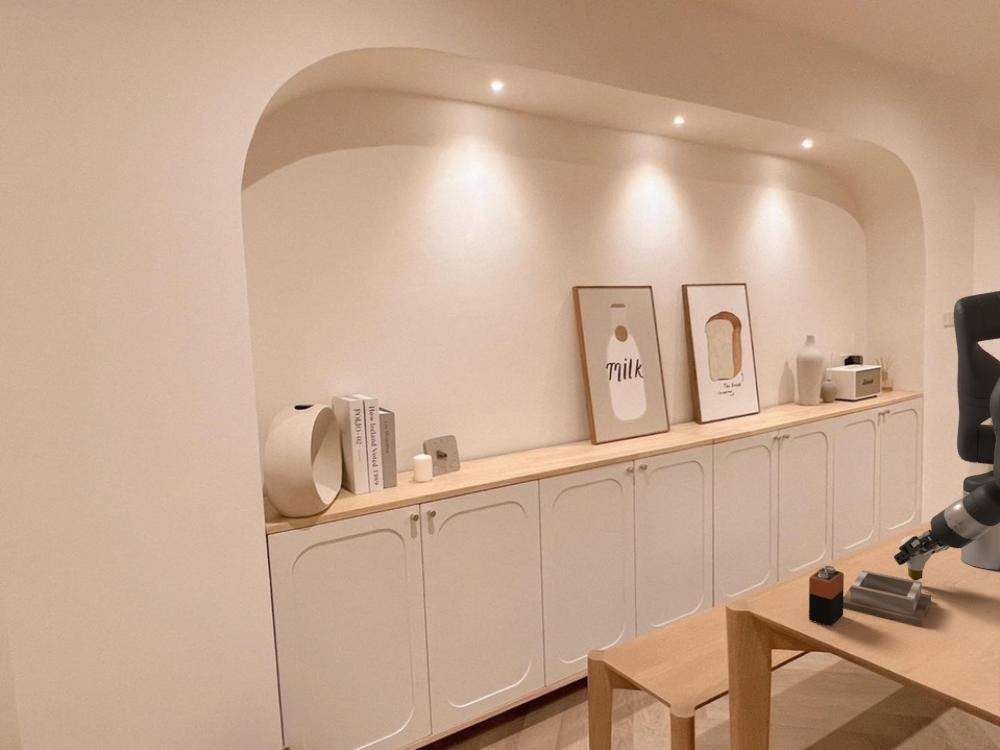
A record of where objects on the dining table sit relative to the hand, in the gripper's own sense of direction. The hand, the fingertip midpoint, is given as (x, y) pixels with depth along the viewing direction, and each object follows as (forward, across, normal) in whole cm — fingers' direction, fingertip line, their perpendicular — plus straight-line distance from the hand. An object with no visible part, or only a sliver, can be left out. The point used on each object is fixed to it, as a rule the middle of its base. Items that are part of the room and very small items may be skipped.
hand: (908, 558), depth 143 cm
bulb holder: (0, +14, +8) cm, 16 cm away
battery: (0, +30, +8) cm, 31 cm away
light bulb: (+2, 0, +4) cm, 5 cm away
